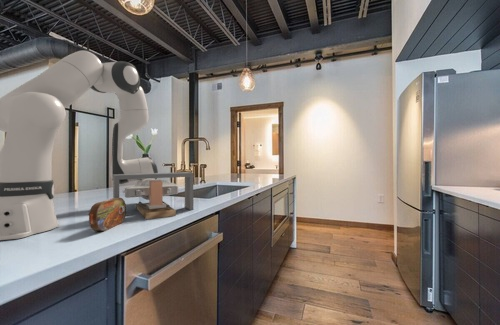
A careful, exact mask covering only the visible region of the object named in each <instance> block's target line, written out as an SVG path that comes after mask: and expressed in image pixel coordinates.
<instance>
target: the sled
mask: <svg viewBox="0 0 500 325" xmlns="http://www.w3.org/2000/svg"><path fill="white" fill-rule="evenodd" d="M162 181H163V180H161V179H159V180H158V179H156V180H152V181H149V200H148V202H145V203H146V207H147V208H149V209H156V208H165V207H166V204H167V203H166V204H164V203H163V202H164V200H163V197H164V196H162Z"/></svg>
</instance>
